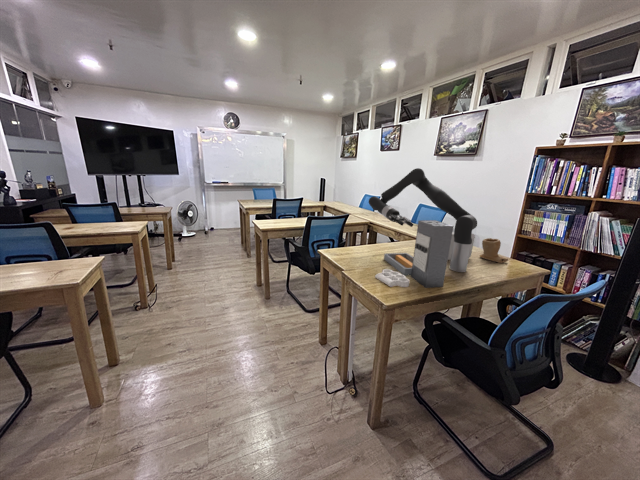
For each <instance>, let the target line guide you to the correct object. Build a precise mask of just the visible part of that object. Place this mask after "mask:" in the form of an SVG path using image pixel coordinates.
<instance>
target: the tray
mask: <svg viewBox="0 0 640 480" xmlns="http://www.w3.org/2000/svg"><path fill="white" fill-rule="evenodd" d="M396 255H401V256H402V257H404V258H405V259H407V260H408V261H410V262H411V263H413V257H414V256H412V255H411V254H409V253H407V252H397V253H396V252H393V253H384V255H383V260H384V261H385V262H387V264H389V265H390V266H391V267H392V268H394V269H395V270H397V272H399V273H400V274H402V275H404V276H411V272H412V268H406V267H405V266H404V265H402V264H401V263H400V262H398V261H397V260H395V258H396Z"/></svg>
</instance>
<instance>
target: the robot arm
mask: <svg viewBox="0 0 640 480" xmlns="http://www.w3.org/2000/svg"><path fill="white" fill-rule="evenodd" d="M410 185H413V186H415V187H416V188H417V189H419V190H420V191H421V192H423V193H424V195H425V196H426V197H427V198H428V200H429V201H431V202H432V203H433V205H435V206H436V207H437V208H438V209H439V210H441V211H443V212H444V213H445V214H448V215H450V216H451V217H453V219H454V220H455V221H456V222H455V226H454V229H453V232H454V244H453V249H452V255H451V260H449V261H450V262H449V266H448V268H449V270H451V271H452V272H453V271H454V272H456V273H457V272H458V273H465V272H467V267H468V264H469V263H468V262H469V260H470V258H469V254H470V249H471V244H472V238H471V234H473V230H474V229H476V228H477V227H478V220H477V218H476V217H475V216H473V214H471V213H469V212H468V211H466V210H465V209H464V208H462V206H461V205H459V203H457V201H456V200H454V199H453V198H452V197H451V196H450V194H448V193H447V191H444V190H443V189H442V188H440V187H439V186H437V185H434V184H433V183H432V182H431V181H430V180H429V179H428V178H427V177H426V174H425V171H424V170H423V169H422V168H421V167H420V168H419V167H418V168H414V169H413V170H411V171H410V172H409V173H407V175H405V176H404V177H403V178H401V179H400V180H399V181H398V182H397V183H396V184H394V185H392V186H391V187H390V188H387V190H385V191H383V192H382V193H380V197H381V198H379V197H378V196H370V198H369V199H368V204H369V206H370V207H371V209H372V210H373V211H377V213H378V212H379V213H380V214H381V215H382V216H383V217H384V218H386V219H387V220H389V221H390V222H392V223H397V224H398V225H400V226H404V225H407V226H409V227H411V228H413V226H414V223H413V222H412V220H411V219H409V218H407V217H406V216H403V215H400V214H401V213H400V211H399V210H397V209H396V208H394V207H392V206H390V205H388V204H387V203H388V202H389V201H392V200H393V199H395V198H396V197H397V196H399V194H401V192H402V191H403V190H405V189H406V188H407V187H409V186H410Z"/></svg>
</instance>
